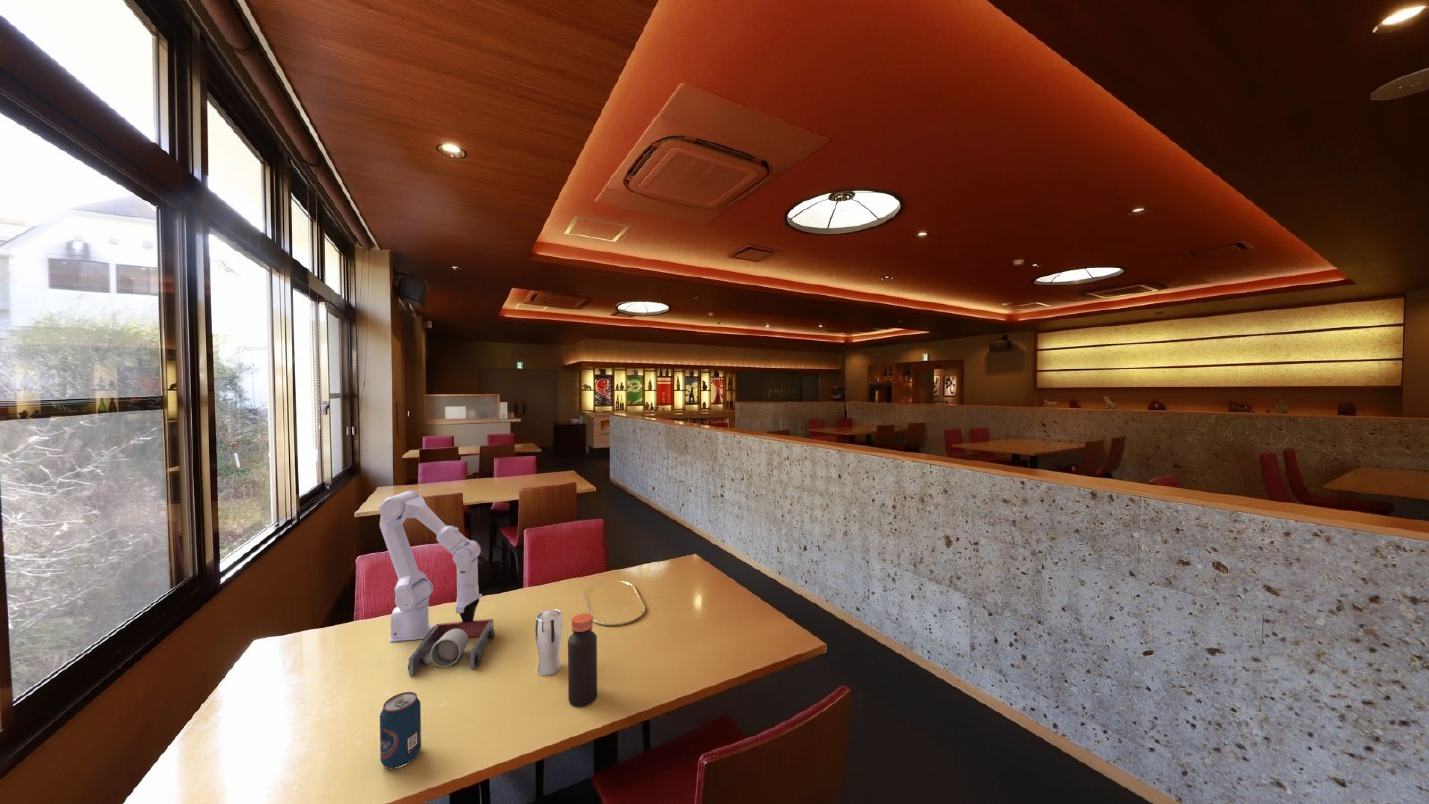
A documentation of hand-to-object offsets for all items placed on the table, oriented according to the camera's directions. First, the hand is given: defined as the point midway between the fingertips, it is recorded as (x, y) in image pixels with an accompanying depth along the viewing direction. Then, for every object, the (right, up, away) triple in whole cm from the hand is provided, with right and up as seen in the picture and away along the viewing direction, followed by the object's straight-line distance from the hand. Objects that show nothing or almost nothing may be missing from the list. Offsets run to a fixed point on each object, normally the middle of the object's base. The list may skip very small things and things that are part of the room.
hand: (468, 625), depth 144 cm
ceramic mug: (+1, -3, -14) cm, 15 cm away
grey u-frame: (+2, -3, -12) cm, 12 cm away
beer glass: (+32, -3, -19) cm, 37 cm away
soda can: (+12, -4, -49) cm, 51 cm away
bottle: (+45, -3, -31) cm, 54 cm away
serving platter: (+41, -3, +21) cm, 46 cm away
